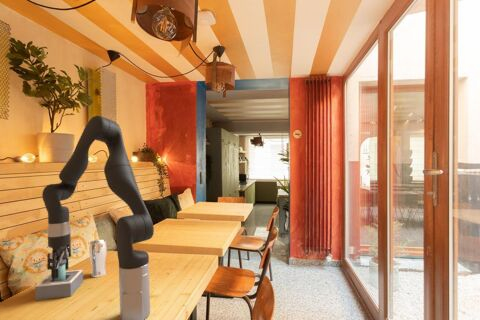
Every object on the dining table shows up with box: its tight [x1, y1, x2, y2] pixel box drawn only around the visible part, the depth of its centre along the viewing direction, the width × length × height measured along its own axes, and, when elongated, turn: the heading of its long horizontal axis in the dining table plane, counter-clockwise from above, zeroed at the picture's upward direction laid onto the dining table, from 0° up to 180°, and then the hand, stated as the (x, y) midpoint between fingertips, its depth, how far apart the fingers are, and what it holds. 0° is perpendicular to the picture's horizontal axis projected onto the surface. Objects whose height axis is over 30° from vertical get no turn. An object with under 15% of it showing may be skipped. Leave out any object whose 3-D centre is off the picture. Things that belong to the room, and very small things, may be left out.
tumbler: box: [88, 238, 108, 278], centre depth 122 cm, size 7×7×15 cm
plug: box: [55, 259, 67, 281], centre depth 107 cm, size 4×4×12 cm
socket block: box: [34, 269, 84, 301], centre depth 107 cm, size 12×12×5 cm
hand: (60, 273), depth 107 cm, fingers open, 8 cm apart
